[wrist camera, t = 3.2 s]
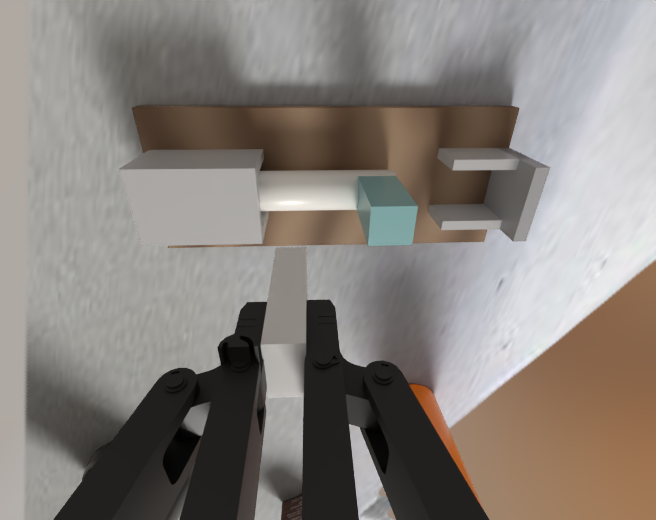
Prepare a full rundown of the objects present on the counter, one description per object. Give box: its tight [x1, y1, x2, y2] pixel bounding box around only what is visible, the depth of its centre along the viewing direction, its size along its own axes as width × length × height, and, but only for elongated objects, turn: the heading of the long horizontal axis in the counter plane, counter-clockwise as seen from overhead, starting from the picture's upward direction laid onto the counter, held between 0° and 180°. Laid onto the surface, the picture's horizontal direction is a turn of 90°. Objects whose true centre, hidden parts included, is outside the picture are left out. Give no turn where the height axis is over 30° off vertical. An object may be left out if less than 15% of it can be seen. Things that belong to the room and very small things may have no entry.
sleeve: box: [119, 149, 269, 246], centre depth 27 cm, size 9×6×5 cm, turn 89°
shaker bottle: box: [409, 384, 482, 507], centre depth 39 cm, size 9×9×20 cm
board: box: [132, 106, 519, 248], centre depth 31 cm, size 30×12×1 cm, turn 90°
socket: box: [428, 148, 550, 241], centre depth 28 cm, size 6×6×6 cm
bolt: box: [257, 170, 418, 246], centre depth 26 cm, size 20×3×9 cm, turn 90°
